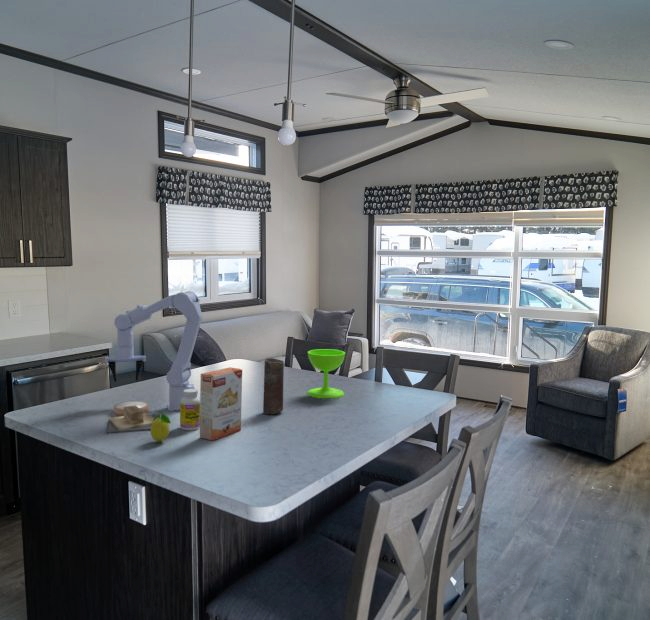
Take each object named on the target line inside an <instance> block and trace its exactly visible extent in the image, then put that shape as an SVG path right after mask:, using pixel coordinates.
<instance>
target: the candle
mask: <svg viewBox="0 0 650 620" xmlns="http://www.w3.org/2000/svg"><path fill="white" fill-rule="evenodd" d="M284 363H285V362H284V360H281V359H278V358H277V359H276V358H274V357H273V358H272V357H270V358H265V359H264V368H263V369H264V372H263V373H264V375H263V401H262V402H263V404H262V405H263V406H262V411H263V412H262V413H263V414H266V415H268V414H271V415H275V414H280V413H281V412H283V411H284V377H285V375H284V374H285V373H284V370H285V368H284V367H285V364H284Z"/></svg>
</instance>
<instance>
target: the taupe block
mask: <svg viewBox="0 0 650 620" xmlns="http://www.w3.org/2000/svg"><path fill="white" fill-rule="evenodd" d="M150 415H151V414H150V413H149V412H148V413H143V411H142V410H141V409H140V408H138V407H137V406H136V405H134V406H126V407H124V416H115V417H108V422H109V421H110V422H111V423H112V424H113V425H114V426H115V427H116V428H117V429H118V430H119V431H120V430H126V429H132V428H139V427H145V426H151V425H152V424H153V423H152V422H154V421H155V420H156V419H155V420H154V421H153V419H154V418H153V417H152V416H150Z"/></svg>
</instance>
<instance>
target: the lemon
mask: <svg viewBox="0 0 650 620" xmlns="http://www.w3.org/2000/svg"><path fill="white" fill-rule="evenodd" d="M158 412H159V413H158V414H159V415H158V414H155V415H156V416H155V417H154V419H153V421H154V420H155V419H156V418H158V419H156V420H155V421H154V422H152V423H153V424H152V426H151V430H150V435H151V438H152V439H153V440H155V441H157V442H159V443H162V441H164V440H166V439H167V438H168V436H169V434H170V425H169V424H171V420H170V418H169V417H168V416H167V415H166V414H165V413H161V410H159V411H158Z"/></svg>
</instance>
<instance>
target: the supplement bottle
mask: <svg viewBox="0 0 650 620" xmlns="http://www.w3.org/2000/svg"><path fill="white" fill-rule="evenodd" d="M183 394H184V397H183V398H182V399H181V401H180V410H179V412H180V413H179V417H180V418H179V419H180V420H179V428H180V429H181V430H183V431H196V430H198V429H199V430H200V397H198V394H199V390H198V389H195V388H194V389H186V390H184V391H183Z"/></svg>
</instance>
